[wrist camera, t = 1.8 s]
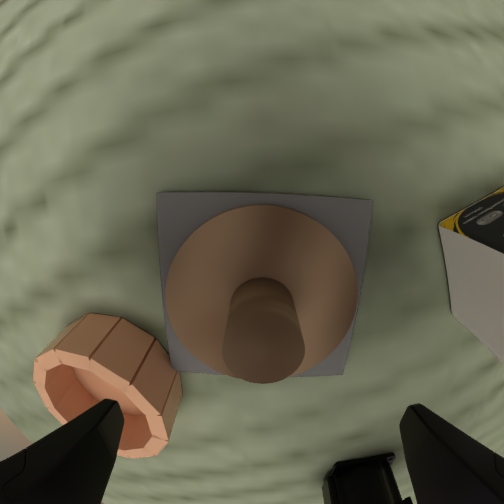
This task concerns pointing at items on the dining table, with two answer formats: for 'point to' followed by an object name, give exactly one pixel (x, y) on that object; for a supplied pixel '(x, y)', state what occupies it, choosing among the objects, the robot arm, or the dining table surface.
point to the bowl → (112, 379)
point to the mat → (213, 203)
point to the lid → (261, 293)
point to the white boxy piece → (477, 268)
